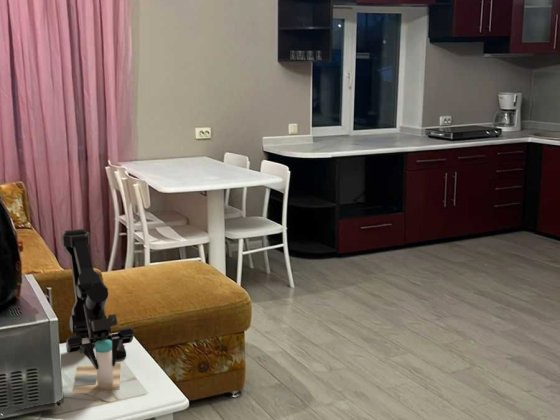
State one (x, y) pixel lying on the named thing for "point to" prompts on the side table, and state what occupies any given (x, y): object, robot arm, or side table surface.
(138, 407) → the side table surface
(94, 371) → the board
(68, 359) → the side table surface
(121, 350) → the tape measure
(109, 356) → the ball
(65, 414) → the side table surface
